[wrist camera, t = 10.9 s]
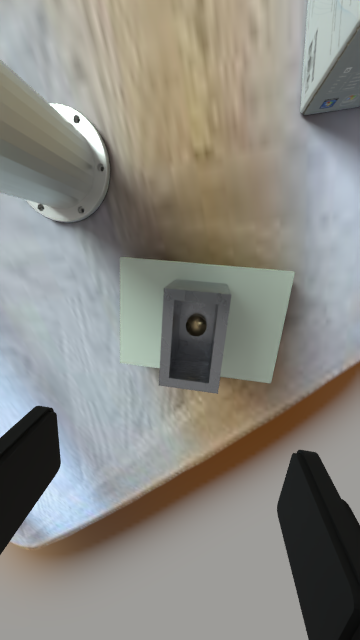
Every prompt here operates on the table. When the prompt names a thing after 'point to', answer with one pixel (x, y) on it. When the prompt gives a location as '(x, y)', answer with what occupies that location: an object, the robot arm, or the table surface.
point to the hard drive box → (331, 56)
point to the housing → (193, 334)
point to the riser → (243, 322)
